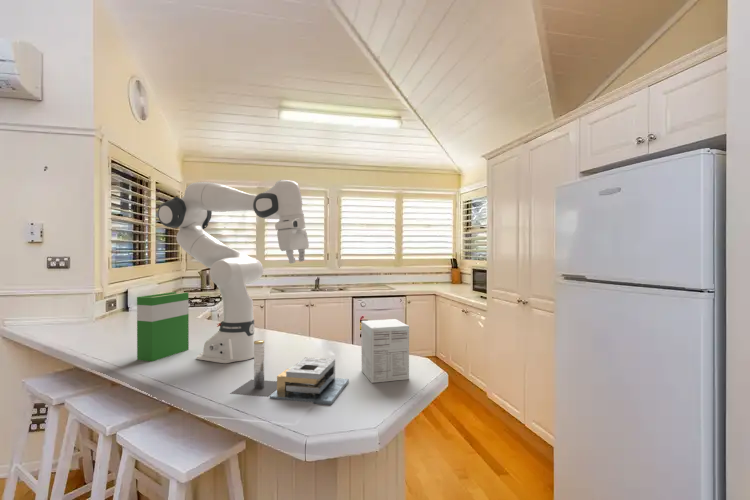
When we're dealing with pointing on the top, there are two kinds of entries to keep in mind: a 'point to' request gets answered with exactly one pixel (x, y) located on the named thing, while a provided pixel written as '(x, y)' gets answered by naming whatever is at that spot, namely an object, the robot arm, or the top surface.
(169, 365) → the top surface
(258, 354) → the pin
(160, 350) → the hardback book
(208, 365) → the top surface
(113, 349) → the top surface
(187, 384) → the top surface
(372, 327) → the supplement box
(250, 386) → the mat
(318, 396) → the grey layered square block
